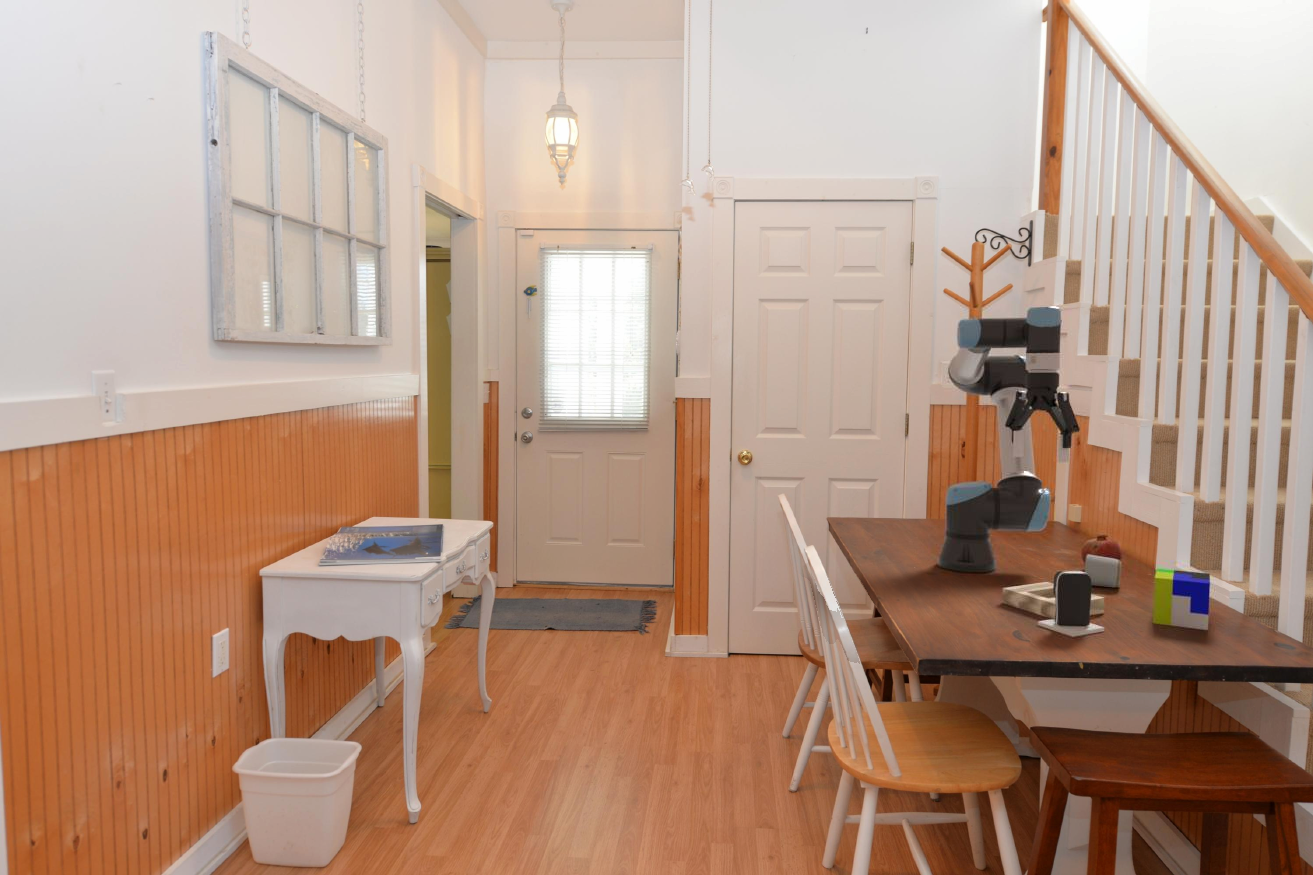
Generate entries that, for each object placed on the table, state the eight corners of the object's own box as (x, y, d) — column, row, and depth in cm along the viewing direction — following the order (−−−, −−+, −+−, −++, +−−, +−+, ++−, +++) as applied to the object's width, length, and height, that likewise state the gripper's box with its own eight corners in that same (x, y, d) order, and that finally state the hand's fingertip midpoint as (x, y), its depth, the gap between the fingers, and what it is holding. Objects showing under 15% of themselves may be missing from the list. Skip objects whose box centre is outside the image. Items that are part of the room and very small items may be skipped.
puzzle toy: (1207, 630, 183) (1209, 583, 182) (1153, 623, 188) (1154, 577, 188) (1207, 618, 192) (1209, 573, 191) (1155, 612, 197) (1157, 568, 196)
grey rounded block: (1120, 591, 215) (1121, 560, 214) (1083, 587, 219) (1084, 557, 218) (1121, 582, 224) (1122, 552, 224) (1085, 578, 228) (1086, 549, 227)
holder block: (1002, 602, 205) (1002, 588, 205) (1046, 596, 211) (1046, 581, 210) (1058, 620, 191) (1058, 604, 190) (1104, 612, 196) (1104, 597, 196)
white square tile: (1037, 625, 188) (1037, 621, 187) (1068, 619, 191) (1068, 616, 191) (1072, 636, 179) (1072, 632, 179) (1104, 631, 183) (1104, 627, 183)
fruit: (1112, 578, 228) (1114, 540, 227) (1073, 571, 235) (1075, 535, 234) (1129, 571, 235) (1130, 534, 234) (1090, 565, 242) (1091, 529, 241)
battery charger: (1083, 621, 187) (1084, 568, 186) (1091, 626, 183) (1093, 573, 182) (1050, 621, 188) (1051, 568, 187) (1057, 626, 184) (1058, 573, 183)
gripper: (991, 371, 220) (989, 455, 222) (1074, 371, 198) (1071, 465, 199) (1014, 371, 223) (1012, 453, 225) (1098, 371, 200) (1095, 463, 202)
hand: (1039, 459), depth 212 cm, fingers open, 13 cm apart
